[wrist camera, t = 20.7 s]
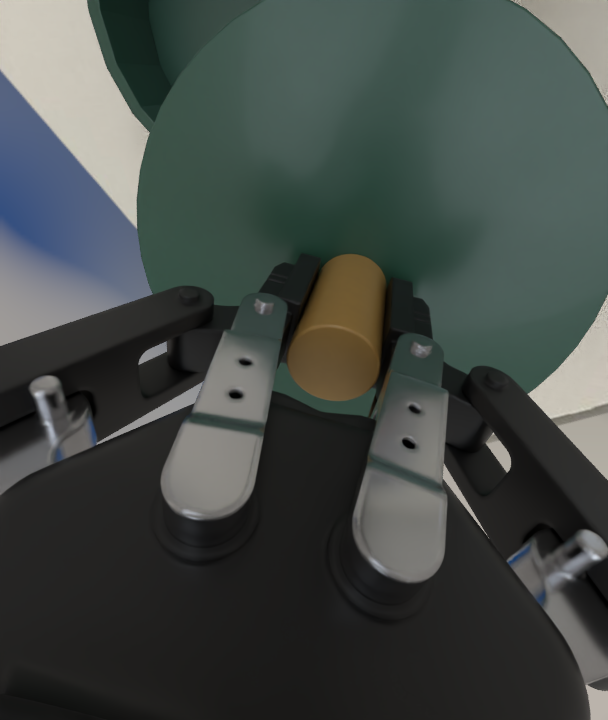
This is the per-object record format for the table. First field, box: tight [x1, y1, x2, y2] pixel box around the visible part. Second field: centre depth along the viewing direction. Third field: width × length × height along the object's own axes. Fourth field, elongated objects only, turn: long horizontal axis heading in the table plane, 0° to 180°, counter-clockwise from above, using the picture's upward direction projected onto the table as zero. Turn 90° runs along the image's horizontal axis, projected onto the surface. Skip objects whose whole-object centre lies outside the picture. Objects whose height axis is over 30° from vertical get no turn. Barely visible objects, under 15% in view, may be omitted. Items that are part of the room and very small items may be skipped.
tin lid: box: [137, 0, 608, 417], centre depth 13 cm, size 17×17×6 cm
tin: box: [87, 0, 261, 132], centre depth 21 cm, size 15×15×5 cm
